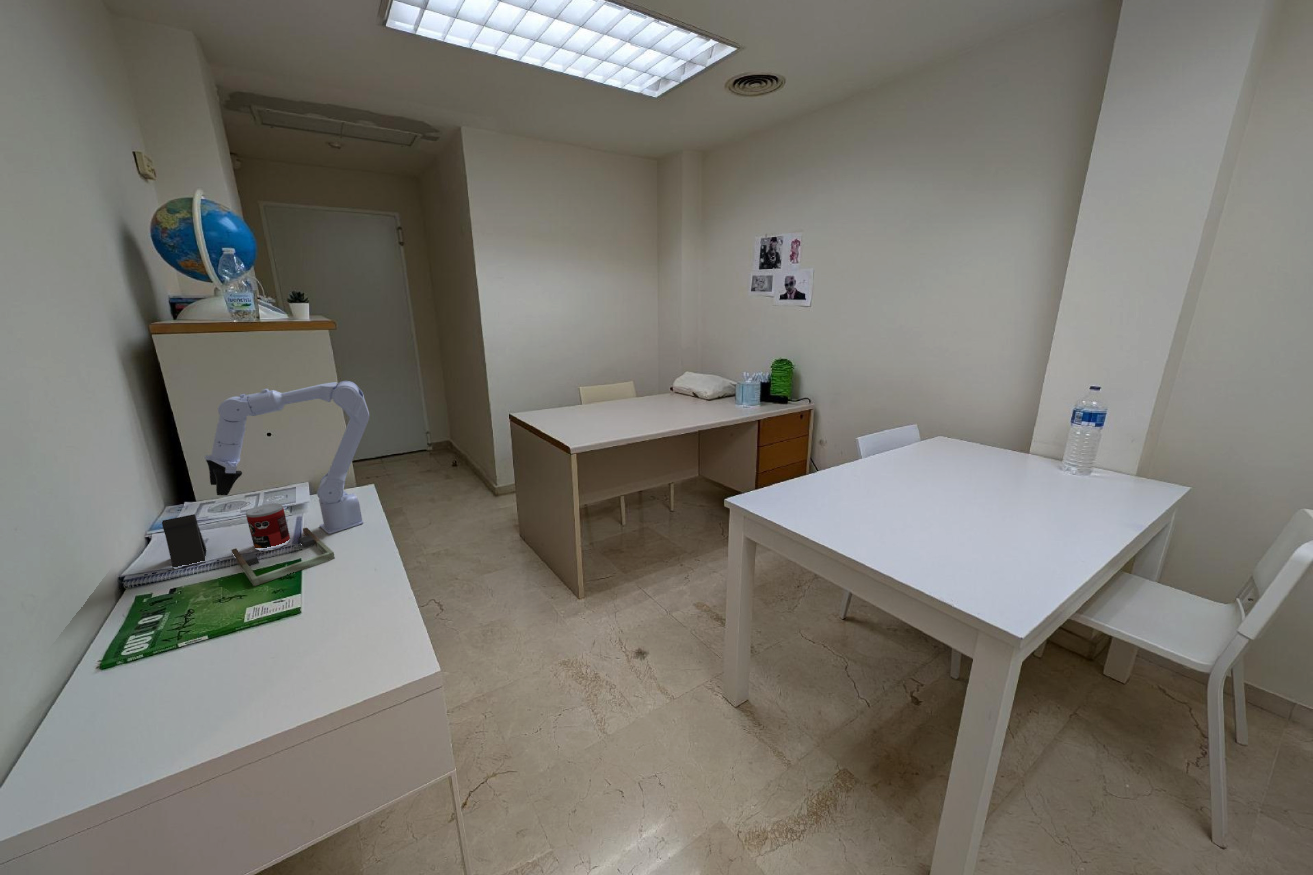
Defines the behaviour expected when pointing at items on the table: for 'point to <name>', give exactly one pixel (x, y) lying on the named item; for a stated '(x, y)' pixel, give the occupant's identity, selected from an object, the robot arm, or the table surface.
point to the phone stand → (184, 540)
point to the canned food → (267, 525)
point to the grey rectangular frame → (288, 569)
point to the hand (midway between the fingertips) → (218, 489)
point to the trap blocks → (253, 559)
